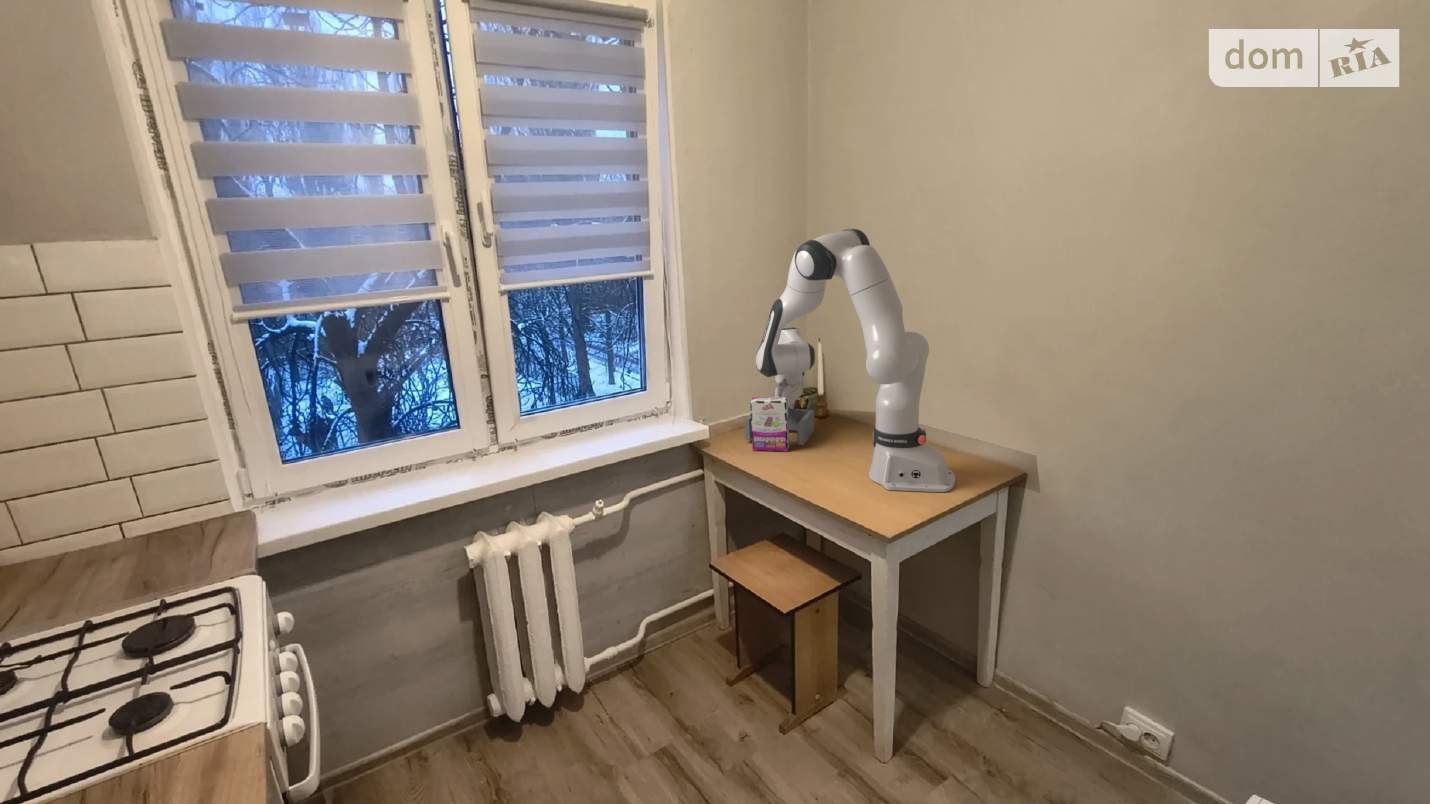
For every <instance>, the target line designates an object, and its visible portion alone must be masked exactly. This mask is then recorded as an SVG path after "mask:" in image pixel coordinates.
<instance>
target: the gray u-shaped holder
mask: <svg viewBox="0 0 1430 804" xmlns="http://www.w3.org/2000/svg"><path fill="white" fill-rule="evenodd" d="M788 420H789V431H797V445H798V446H804V445H805V443H806V442H807V441H808V440H809V438H810V437H811V435H812V434H813V433H814V432H815V410H814V409H803V408H801V409H800V408H793V409H791V408H788ZM744 434H745V438H744V439H745V440H746V441H752V424H751V413H750V414H748V415H747V416H746V417H745V418H744Z"/></svg>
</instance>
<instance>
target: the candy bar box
mask: <svg viewBox="0 0 1430 804" xmlns="http://www.w3.org/2000/svg"><path fill="white" fill-rule="evenodd" d="M750 414H751V424H752V439H751V441H752V451H753V452H779V453H781V452H783V453H784V452H785V453H787V452H788V451H789V448H790V430H789V420H788V397H775V396H774V397H773V396H771V397H769V396H768V397H767V396H765V397H763V396H762V397H761V396H759V397H757V396H756V397H752V398H751V400H750Z"/></svg>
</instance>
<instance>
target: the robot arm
mask: <svg viewBox="0 0 1430 804" xmlns="http://www.w3.org/2000/svg"><path fill="white" fill-rule="evenodd" d="M870 244H871V243H870V241H869V238H868V236H867V234H865V232H863V231H862V230H860V229H858V228H846V229H843V230H840V231H836V232H832V233H826V234H823V235H820V236H818V237H815V238H814V239H810V240H807V241H805V242H804V243H803V244H800V246H798V248H797V249H796V250H795V252H794V254H793V255H792V258H791V261H790V265H789V270H788V275H787V280H786V281H787V282H786V287H785V289H784V291H783V293H782V294H781V296H779V298H778V299H776V300H774V302H773V304H772V305H771V309H770V312H769V315H768V318H767V322H766V326H765V329H764V332H763V336H762V339H761V343H760V344H759V347H758V349H757V351H756V354H755V365H756V366H755V367H756V369H757V371H758V372H759V373H760V374H762V375H763V376H765V377H766V378H772V377H774V379H775V380H774V381H775V383H777V384H778V385H777V386H776V387H775V390H774V397H788V408H791V409H795V402H796V401H797V400H798V399H799V398H800V397H801V396H802V395H803V391H804V376H805V374H806V372H808V371H810V370H811V369H812V368H813V366H814V365H815V362H816V353H815V351H816V350H815V348H814V347H813V345H811V343H809V342H806V341H805V340H804V339H803V337H801V332H800V329H799V328H797V327H785V326H786V325H788V324H789V323H790V322H792V321H795V320H796V319H798V318H801V317H803V316H806V315H809V314H811V313H813V312H814V311H816V310H817V308H819V307H820V306H821V304H822V302H823V300H824V297H825V292H826V285H827V280H828V281H830V280H832V278H833V276H835V277H839V278H841V279H842V280H843V282H844V283H845V286H846V288H847V291H848V294H849V297H850V300H851V302H852V304H853V306H854V310H855V313H856V314H857V317H858V319H859V323H860V326H861V330H862V334H863V335H862V336H863V340H864V346H865V352H866V361H865V369H866V372H867V374H868V376H869V378H870V379H871V380H872V381H874V382H875V383H878V384H879V385H880V386H879V389H878V392H877V395H876V398H875V425H874V427H873V431H872V444H873V455H872V459H871V464H870V465H871V466H870V469H869V471H868V477H869V479H870V480H871V481H872V482H874V483H876V484H879V485H881V486H882V487H883V488H885V489H886V490H888V491H901V492H903V491H905V492H929V493H930V492H931V493H946V492H949V491H951V490H952V489H953V488H954V487H955V485H956V474H955V473H954V471H952V470H951V469H950V468H948V467H947V462H946V458H945V456H944V454H943V453H942V452H941V451H939V450H938V449H936V448H935V447H934V446H932V445H931V444H929V443H928V442H927V432H926V428H923V429H922V428H920V426H919V419H920V418H919V416H920V401H921V393H922V389H923V384H924V383H923V382H924V378H925V373H926V365H927V360H928V356H929V353H930V345H929V343H928V340H927V339H926V337H925V336H924V335H922V334H920V333H918V332H915V331H906V330H905V325H904V320H903V318H904V317H903V311H904V310H903V305H902V302H901V300H900V297H899V295H898V293H897V290H896V287H895V285H894V283H893V279H892V277H891V275H890V273H889V271H888V269H887V266H886V265H885V263H884V261H883V260H882V258H881V256H880V254H879V253H878V252H877V250H876V249H875V248H874V247H873V246H872V245H870ZM784 327H785V328H784Z"/></svg>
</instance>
